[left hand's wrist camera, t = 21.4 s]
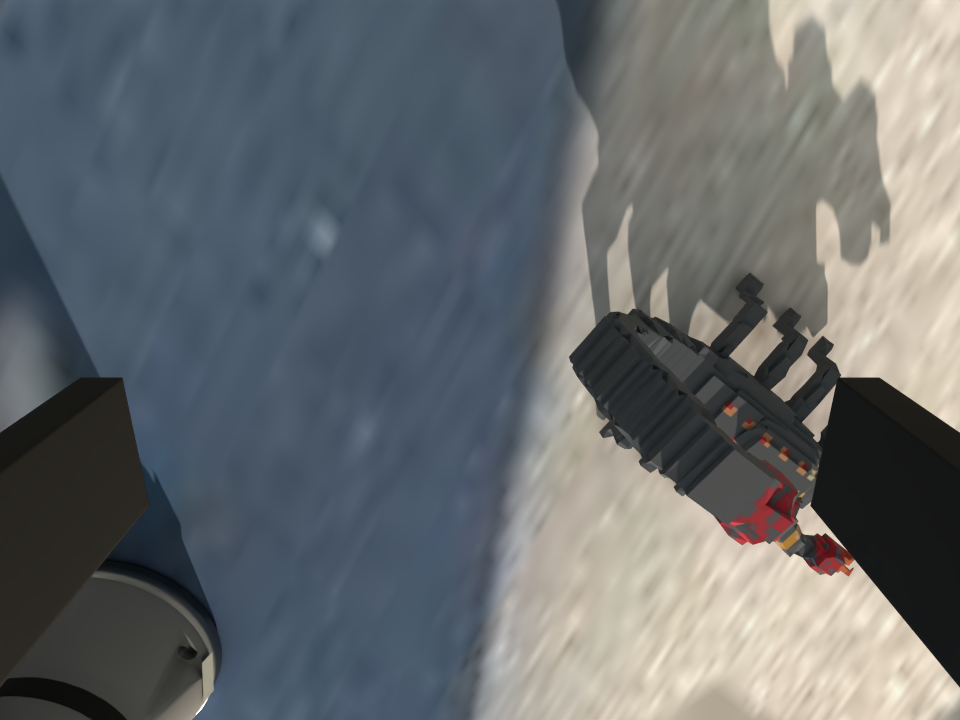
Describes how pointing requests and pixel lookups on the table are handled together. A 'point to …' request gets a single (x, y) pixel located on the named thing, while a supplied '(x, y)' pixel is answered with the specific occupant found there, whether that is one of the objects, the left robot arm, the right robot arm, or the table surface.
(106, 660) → the left robot arm
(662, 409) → the toy
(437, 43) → the table surface
